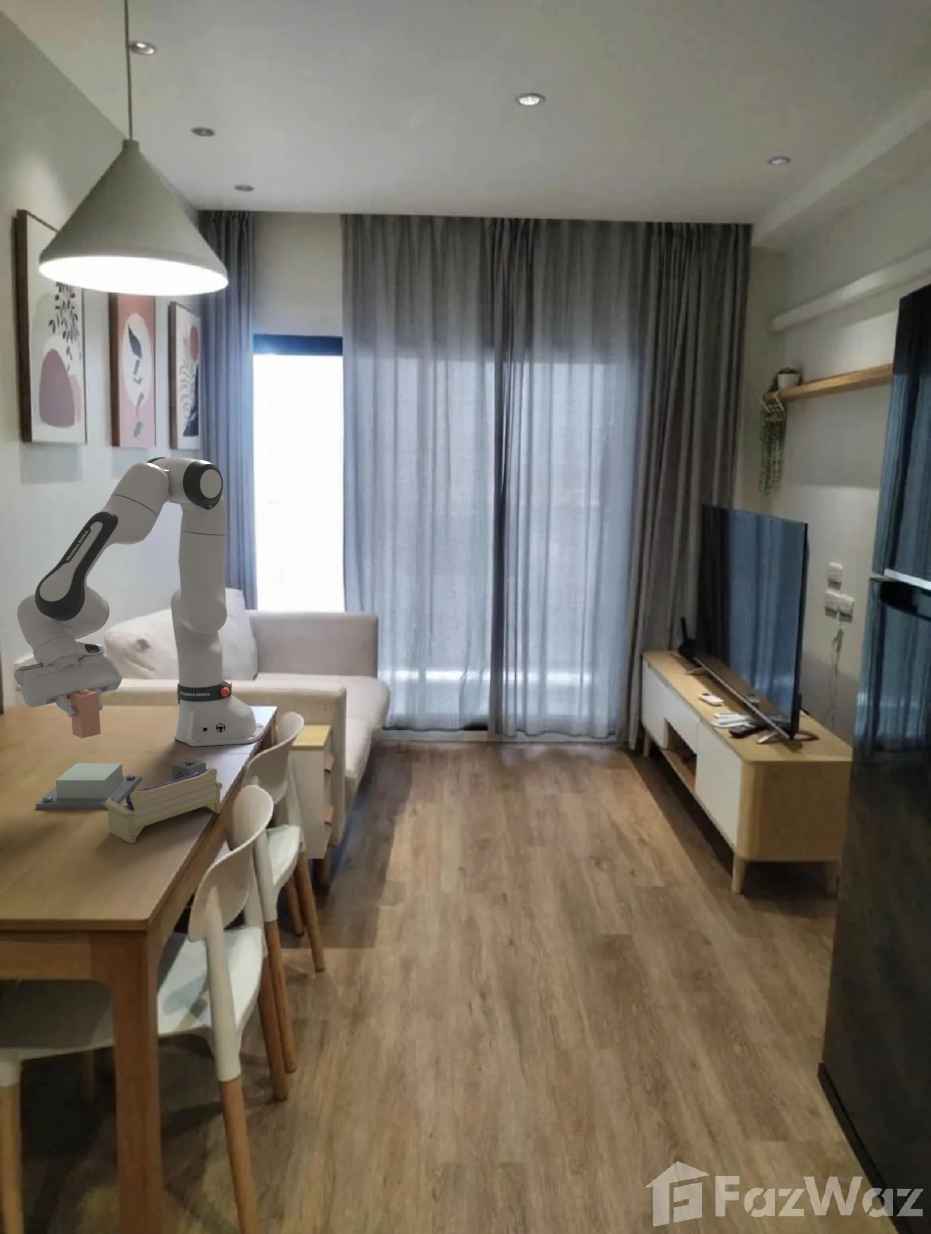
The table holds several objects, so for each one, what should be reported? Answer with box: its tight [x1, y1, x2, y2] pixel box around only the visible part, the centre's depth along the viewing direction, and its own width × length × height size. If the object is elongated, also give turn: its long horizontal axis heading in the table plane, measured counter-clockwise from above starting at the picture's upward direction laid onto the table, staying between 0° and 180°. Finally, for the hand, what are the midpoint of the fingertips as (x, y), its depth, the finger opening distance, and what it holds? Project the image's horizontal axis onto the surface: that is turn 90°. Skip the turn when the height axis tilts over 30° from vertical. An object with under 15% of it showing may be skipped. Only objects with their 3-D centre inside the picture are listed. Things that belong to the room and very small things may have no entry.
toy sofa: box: [104, 767, 223, 844], centre depth 170 cm, size 21×9×10 cm, turn 141°
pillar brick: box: [69, 689, 101, 739], centre depth 181 cm, size 4×4×10 cm
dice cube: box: [171, 758, 207, 781], centre depth 190 cm, size 5×5×5 cm
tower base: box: [35, 762, 143, 810], centre depth 184 cm, size 16×16×5 cm
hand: (86, 712), depth 181 cm, fingers closed on pillar brick, 4 cm apart
